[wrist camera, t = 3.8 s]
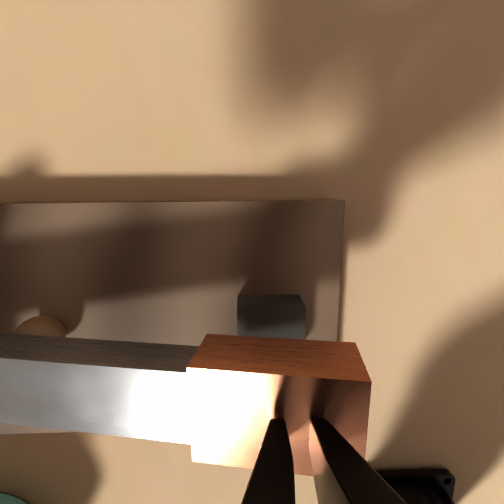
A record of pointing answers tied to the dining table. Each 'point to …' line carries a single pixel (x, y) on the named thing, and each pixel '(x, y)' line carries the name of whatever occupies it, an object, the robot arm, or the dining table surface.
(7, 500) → the cupcake
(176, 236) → the base
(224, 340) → the lever
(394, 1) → the dining table surface
